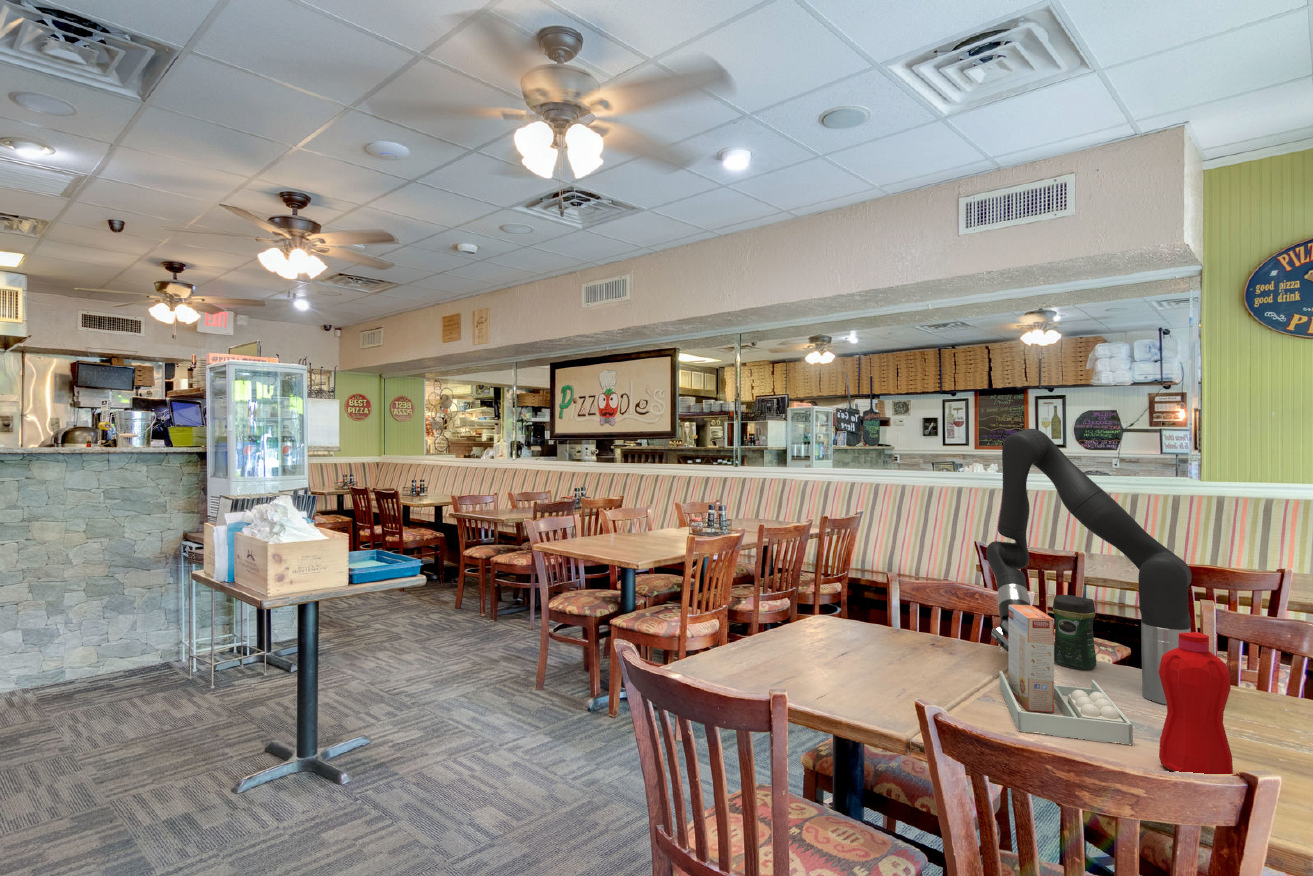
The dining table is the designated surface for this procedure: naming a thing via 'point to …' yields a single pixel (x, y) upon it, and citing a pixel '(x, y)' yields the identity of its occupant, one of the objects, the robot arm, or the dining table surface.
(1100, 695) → the egg carton
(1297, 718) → the dining table surface
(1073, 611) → the coffee jar
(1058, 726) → the grey shallow rectangular frame
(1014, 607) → the cracker box
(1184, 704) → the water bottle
